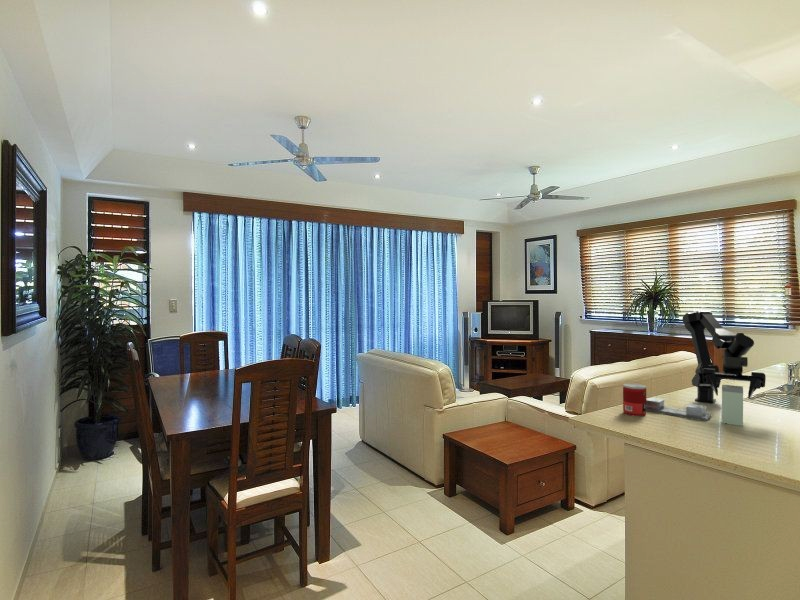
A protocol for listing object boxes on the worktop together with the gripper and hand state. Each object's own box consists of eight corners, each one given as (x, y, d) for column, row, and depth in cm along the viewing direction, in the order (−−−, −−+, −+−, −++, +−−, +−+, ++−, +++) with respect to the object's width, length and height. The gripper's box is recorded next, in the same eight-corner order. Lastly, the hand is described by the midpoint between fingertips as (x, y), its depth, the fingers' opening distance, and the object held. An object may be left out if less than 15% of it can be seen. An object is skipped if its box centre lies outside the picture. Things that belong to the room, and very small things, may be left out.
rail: (647, 406, 183) (647, 396, 183) (711, 416, 167) (711, 406, 167) (640, 409, 177) (640, 399, 177) (706, 421, 161) (706, 410, 161)
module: (722, 419, 163) (722, 384, 163) (742, 422, 159) (742, 386, 159) (721, 423, 159) (721, 386, 159) (742, 426, 155) (743, 389, 155)
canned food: (648, 417, 167) (648, 388, 167) (624, 415, 170) (624, 386, 170) (644, 411, 175) (644, 383, 174) (621, 410, 177) (621, 382, 177)
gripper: (702, 347, 170) (700, 380, 161) (765, 350, 159) (767, 386, 150) (703, 364, 176) (701, 397, 168) (763, 369, 165) (765, 404, 157)
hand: (732, 396), depth 160 cm, fingers open, 9 cm apart
